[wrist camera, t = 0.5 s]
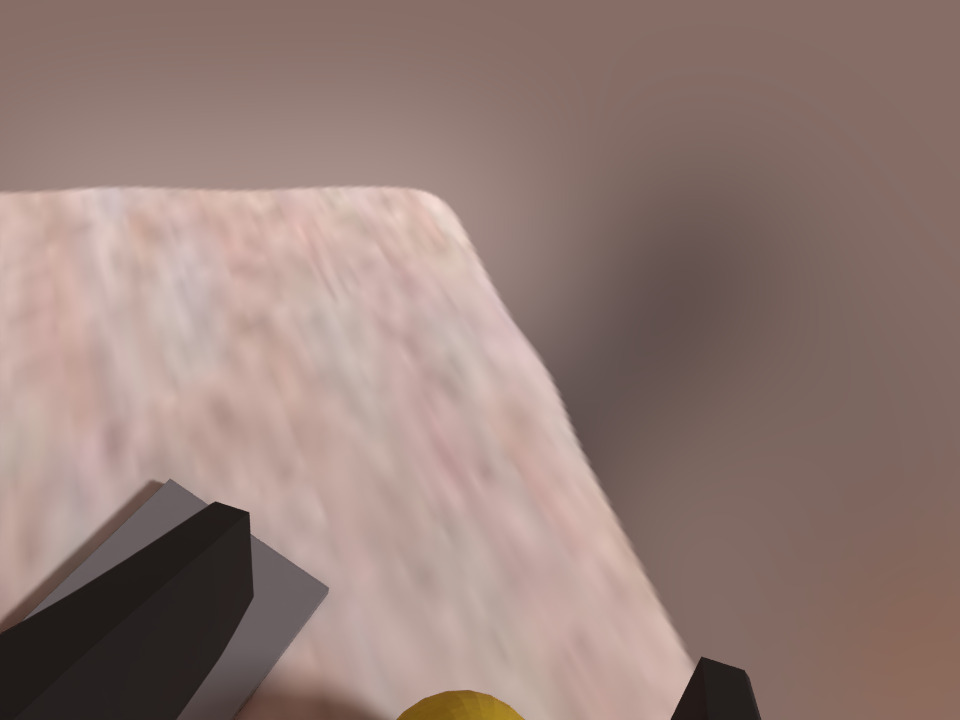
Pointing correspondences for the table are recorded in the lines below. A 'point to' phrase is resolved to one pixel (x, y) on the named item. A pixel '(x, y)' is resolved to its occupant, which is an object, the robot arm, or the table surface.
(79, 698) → the robot arm
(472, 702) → the lemon
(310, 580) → the mat
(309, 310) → the table surface
